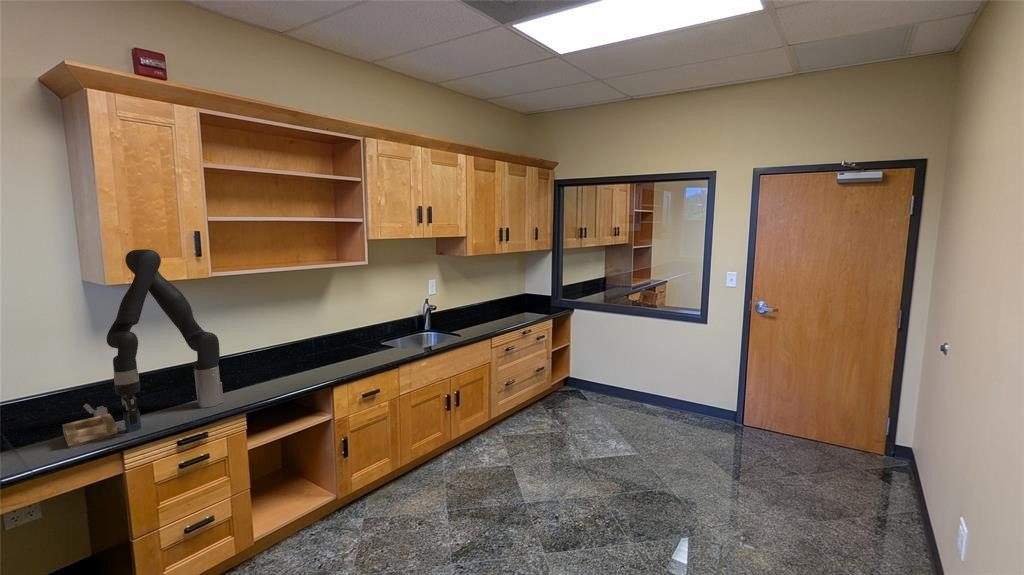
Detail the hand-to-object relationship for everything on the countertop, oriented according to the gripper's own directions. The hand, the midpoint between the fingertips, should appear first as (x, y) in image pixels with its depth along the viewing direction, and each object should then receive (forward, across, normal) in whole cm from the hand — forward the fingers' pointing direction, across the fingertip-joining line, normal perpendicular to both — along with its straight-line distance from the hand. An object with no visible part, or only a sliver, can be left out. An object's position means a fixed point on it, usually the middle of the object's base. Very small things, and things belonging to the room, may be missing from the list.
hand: (131, 420), depth 187 cm
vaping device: (+4, 0, 0) cm, 4 cm away
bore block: (+4, +6, +12) cm, 14 cm away
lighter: (+4, +24, +8) cm, 26 cm away
